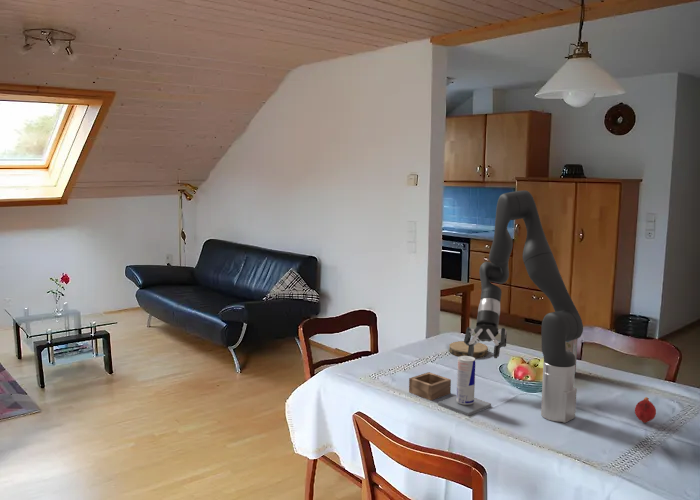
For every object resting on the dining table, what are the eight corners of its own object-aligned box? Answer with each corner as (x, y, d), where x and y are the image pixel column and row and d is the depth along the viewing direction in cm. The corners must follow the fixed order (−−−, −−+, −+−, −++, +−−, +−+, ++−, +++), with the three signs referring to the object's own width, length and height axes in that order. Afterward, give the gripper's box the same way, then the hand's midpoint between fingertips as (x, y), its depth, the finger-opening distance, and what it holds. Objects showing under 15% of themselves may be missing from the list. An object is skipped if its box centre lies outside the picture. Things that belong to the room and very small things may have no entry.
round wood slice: (479, 361, 244) (479, 354, 244) (442, 354, 253) (443, 347, 253) (493, 351, 258) (493, 344, 257) (458, 345, 266) (458, 339, 266)
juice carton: (575, 372, 231) (578, 315, 228) (571, 377, 225) (574, 319, 223) (557, 369, 235) (560, 313, 232) (553, 373, 229) (556, 316, 226)
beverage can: (473, 406, 194) (475, 361, 192) (456, 405, 195) (457, 359, 193) (474, 400, 199) (475, 355, 197) (456, 398, 200) (458, 354, 198)
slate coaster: (491, 406, 197) (491, 403, 196) (467, 416, 189) (467, 413, 189) (461, 396, 206) (461, 393, 205) (438, 404, 198) (438, 401, 198)
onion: (653, 428, 180) (655, 402, 179) (632, 424, 184) (634, 398, 182) (656, 421, 185) (657, 396, 184) (635, 417, 188) (637, 392, 187)
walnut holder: (450, 393, 208) (450, 379, 207) (430, 400, 201) (431, 386, 201) (428, 385, 215) (428, 372, 215) (408, 392, 209) (409, 378, 208)
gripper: (465, 309, 215) (459, 352, 208) (505, 309, 208) (500, 353, 201) (472, 318, 221) (466, 360, 213) (511, 318, 213) (506, 362, 206)
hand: (482, 357), depth 207 cm, fingers open, 8 cm apart
